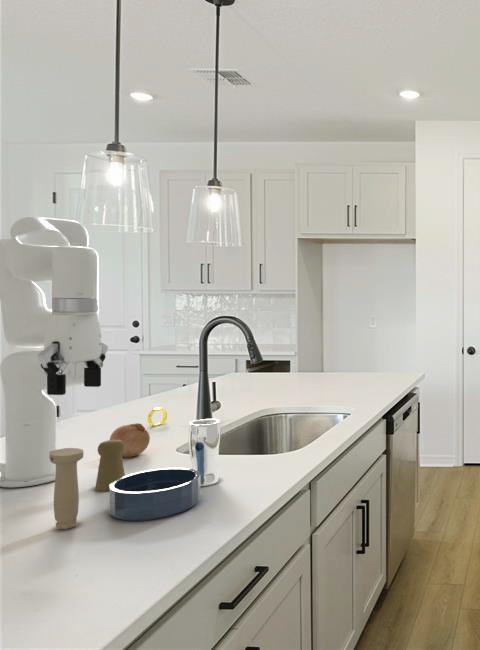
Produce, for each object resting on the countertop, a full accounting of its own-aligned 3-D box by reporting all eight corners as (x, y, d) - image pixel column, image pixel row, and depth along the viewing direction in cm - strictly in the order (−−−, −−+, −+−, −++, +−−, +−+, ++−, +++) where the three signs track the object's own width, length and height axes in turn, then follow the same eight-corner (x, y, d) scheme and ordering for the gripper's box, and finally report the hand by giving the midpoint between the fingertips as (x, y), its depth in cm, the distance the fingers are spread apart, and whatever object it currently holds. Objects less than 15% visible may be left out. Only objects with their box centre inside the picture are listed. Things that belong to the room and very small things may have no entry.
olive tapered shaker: (132, 484, 136) (132, 439, 136) (107, 492, 130) (107, 445, 130) (114, 481, 138) (114, 436, 138) (89, 488, 132) (89, 442, 132)
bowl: (89, 521, 114) (89, 492, 114) (142, 492, 131) (142, 467, 131) (172, 523, 114) (172, 493, 114) (214, 494, 131) (214, 468, 131)
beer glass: (206, 488, 134) (206, 426, 134) (181, 485, 136) (181, 424, 135) (226, 479, 141) (227, 419, 141) (202, 476, 143) (203, 418, 142)
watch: (163, 422, 198) (163, 406, 198) (168, 423, 197) (168, 406, 197) (146, 426, 193) (146, 409, 192) (151, 427, 191) (151, 409, 191)
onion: (145, 463, 162) (164, 431, 164) (120, 464, 153) (140, 429, 154) (119, 449, 163) (138, 417, 165) (93, 449, 154) (113, 415, 156)
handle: (71, 519, 115) (71, 446, 115) (89, 525, 112) (89, 451, 112) (43, 528, 111) (43, 452, 110) (61, 534, 108) (61, 457, 107)
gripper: (88, 305, 124) (87, 383, 124) (20, 307, 106) (20, 397, 107) (122, 306, 124) (122, 384, 124) (60, 308, 107) (60, 398, 107)
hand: (75, 390), depth 116 cm, fingers open, 9 cm apart
